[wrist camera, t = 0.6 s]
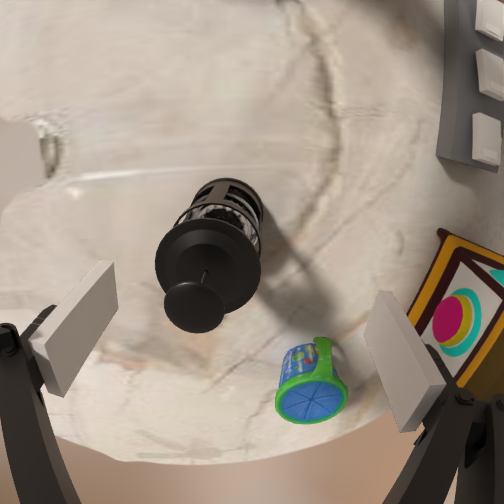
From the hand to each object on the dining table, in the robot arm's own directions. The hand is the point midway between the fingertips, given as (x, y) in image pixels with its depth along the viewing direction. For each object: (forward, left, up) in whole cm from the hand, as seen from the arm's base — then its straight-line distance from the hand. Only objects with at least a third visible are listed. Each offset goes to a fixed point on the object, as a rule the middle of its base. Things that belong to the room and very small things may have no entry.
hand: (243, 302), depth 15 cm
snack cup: (+28, +11, -28) cm, 41 cm away
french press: (+5, -3, -28) cm, 28 cm away
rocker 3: (-11, +29, -22) cm, 38 cm away
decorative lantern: (+13, +34, -28) cm, 45 cm away
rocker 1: (-29, +29, -22) cm, 47 cm away
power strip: (-23, +29, -28) cm, 46 cm away
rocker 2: (-20, +29, -22) cm, 41 cm away
